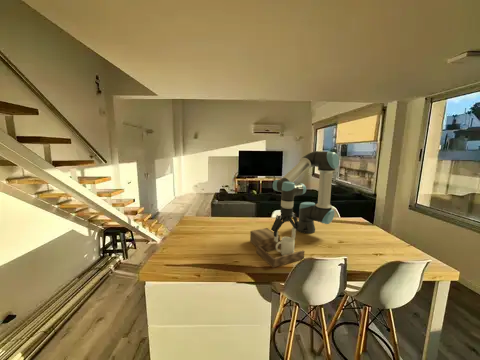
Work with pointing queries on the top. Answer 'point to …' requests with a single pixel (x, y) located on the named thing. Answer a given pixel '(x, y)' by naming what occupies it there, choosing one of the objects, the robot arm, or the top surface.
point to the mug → (286, 245)
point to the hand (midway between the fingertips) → (284, 239)
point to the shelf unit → (271, 248)
